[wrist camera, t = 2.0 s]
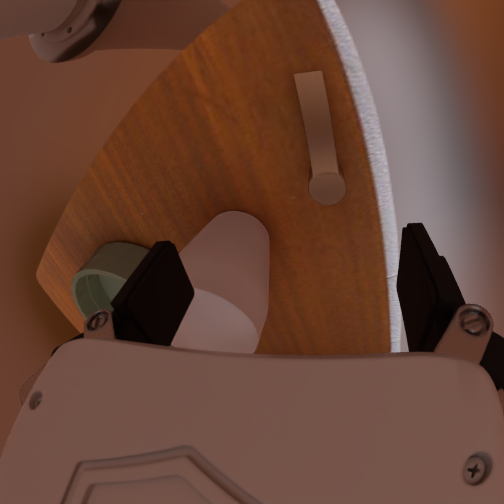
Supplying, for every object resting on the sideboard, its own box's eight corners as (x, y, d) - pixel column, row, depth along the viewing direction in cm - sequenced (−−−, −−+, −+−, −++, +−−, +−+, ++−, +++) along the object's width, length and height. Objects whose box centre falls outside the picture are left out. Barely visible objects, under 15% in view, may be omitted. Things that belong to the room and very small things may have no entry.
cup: (286, 271, 31) (269, 367, 21) (209, 272, 33) (171, 357, 24) (274, 194, 26) (246, 284, 16) (186, 203, 28) (125, 282, 19)
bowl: (76, 245, 36) (51, 271, 31) (170, 232, 31) (145, 266, 26) (127, 327, 46) (112, 353, 41) (217, 334, 40) (205, 367, 36)
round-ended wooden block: (289, 75, 19) (286, 75, 16) (326, 70, 18) (329, 69, 16) (311, 191, 25) (311, 207, 22) (344, 188, 24) (348, 204, 21)
